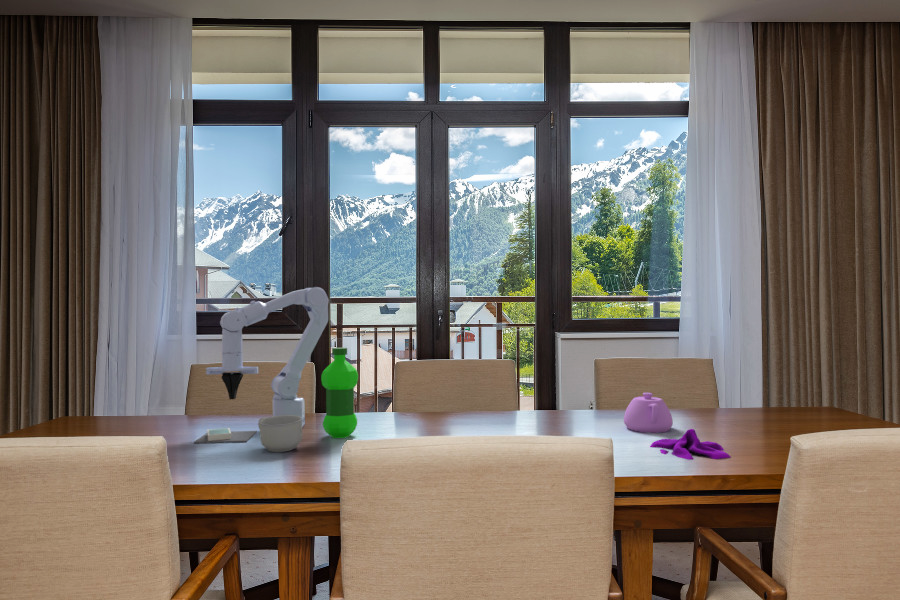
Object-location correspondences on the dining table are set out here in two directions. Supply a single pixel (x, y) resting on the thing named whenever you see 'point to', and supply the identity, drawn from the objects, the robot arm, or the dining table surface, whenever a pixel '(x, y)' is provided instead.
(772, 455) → the dining table surface
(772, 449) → the dining table surface
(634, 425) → the teapot
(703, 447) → the cloth
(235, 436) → the mat
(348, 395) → the plastic bottle
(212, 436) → the tile
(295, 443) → the teacup
